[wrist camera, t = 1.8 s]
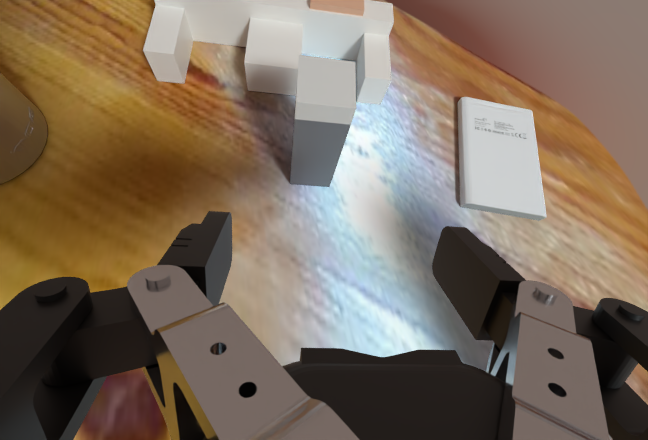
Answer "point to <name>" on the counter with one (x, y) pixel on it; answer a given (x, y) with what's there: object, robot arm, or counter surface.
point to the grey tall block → (321, 118)
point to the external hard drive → (499, 160)
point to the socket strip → (276, 39)
